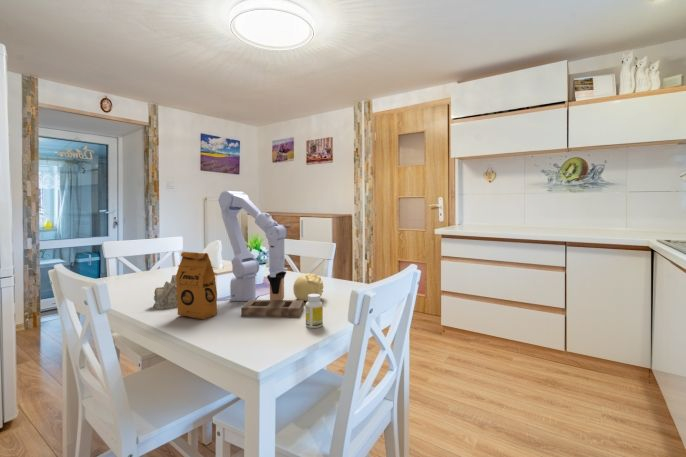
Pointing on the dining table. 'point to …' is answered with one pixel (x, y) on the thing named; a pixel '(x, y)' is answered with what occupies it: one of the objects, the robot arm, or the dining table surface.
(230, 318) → the dining table surface
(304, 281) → the sculpture
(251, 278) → the robot arm
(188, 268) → the coffee package
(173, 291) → the ceramic cottage
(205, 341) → the dining table surface
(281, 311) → the socket board
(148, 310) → the dining table surface
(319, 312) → the supplement bottle
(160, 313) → the dining table surface
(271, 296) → the square peg
